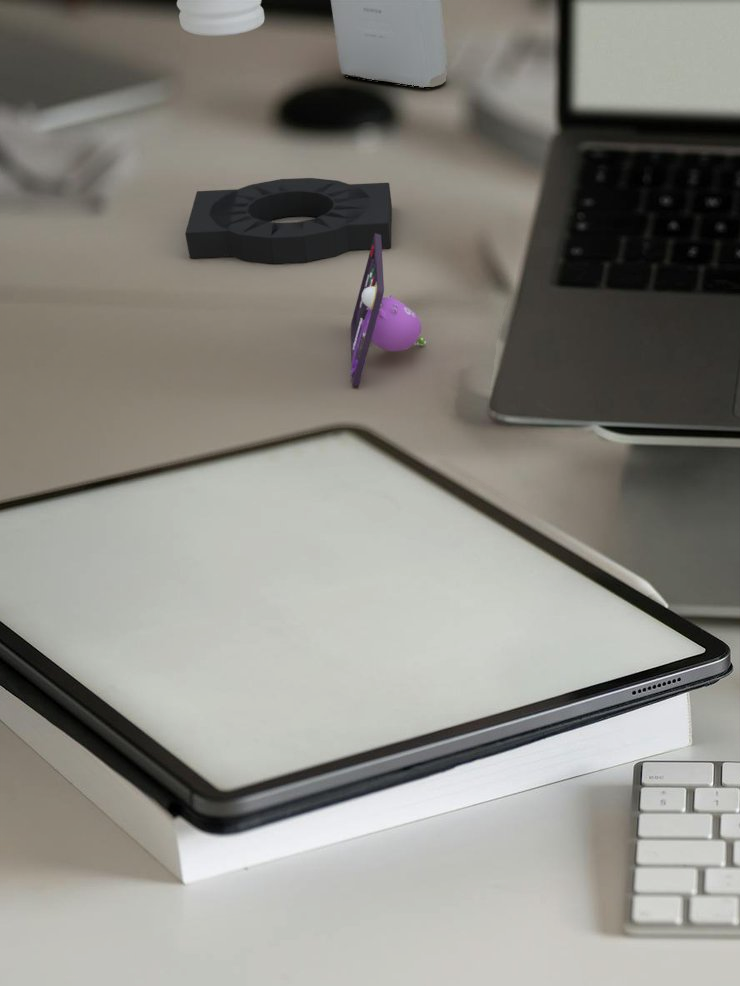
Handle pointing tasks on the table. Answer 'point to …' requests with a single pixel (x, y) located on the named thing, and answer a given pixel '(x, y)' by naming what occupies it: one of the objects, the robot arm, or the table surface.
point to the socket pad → (250, 237)
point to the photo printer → (390, 39)
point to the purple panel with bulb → (379, 316)
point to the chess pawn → (220, 16)
